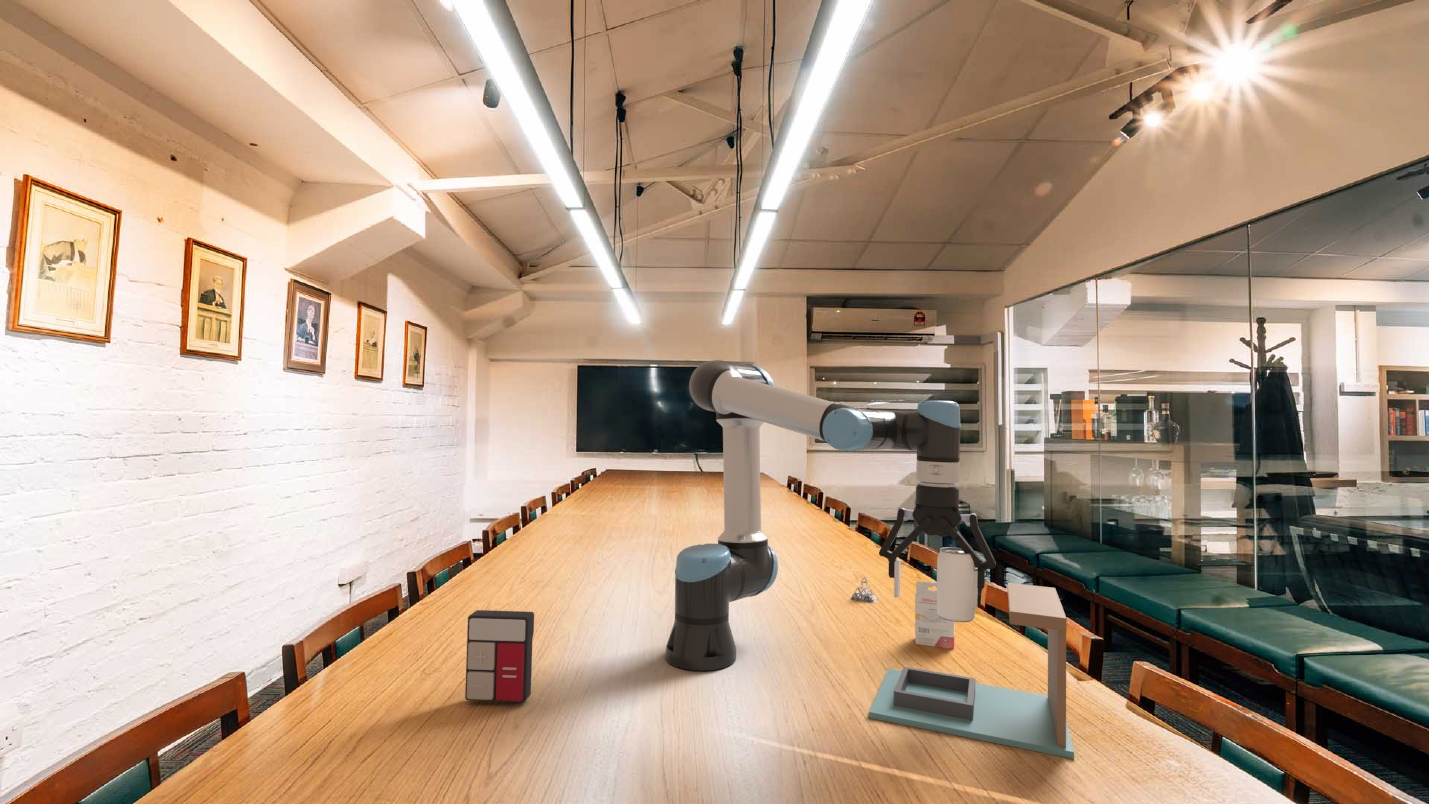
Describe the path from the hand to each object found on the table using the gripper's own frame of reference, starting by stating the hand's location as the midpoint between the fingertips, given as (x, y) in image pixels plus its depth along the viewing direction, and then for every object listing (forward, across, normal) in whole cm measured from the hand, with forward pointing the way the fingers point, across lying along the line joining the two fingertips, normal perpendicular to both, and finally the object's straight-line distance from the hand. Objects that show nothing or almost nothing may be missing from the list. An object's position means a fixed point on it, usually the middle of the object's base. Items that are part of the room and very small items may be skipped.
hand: (935, 601), depth 117 cm
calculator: (+19, -72, -33) cm, 81 cm away
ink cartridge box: (+19, -2, +34) cm, 39 cm away
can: (+3, +4, 0) cm, 4 cm away
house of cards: (+20, -23, +64) cm, 71 cm away
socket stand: (+18, 0, 0) cm, 18 cm away
